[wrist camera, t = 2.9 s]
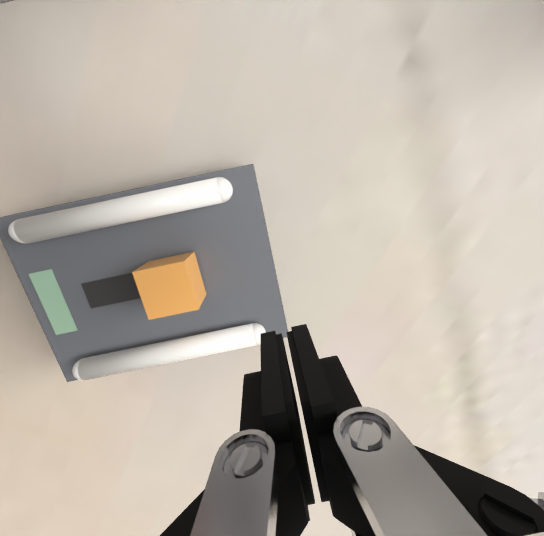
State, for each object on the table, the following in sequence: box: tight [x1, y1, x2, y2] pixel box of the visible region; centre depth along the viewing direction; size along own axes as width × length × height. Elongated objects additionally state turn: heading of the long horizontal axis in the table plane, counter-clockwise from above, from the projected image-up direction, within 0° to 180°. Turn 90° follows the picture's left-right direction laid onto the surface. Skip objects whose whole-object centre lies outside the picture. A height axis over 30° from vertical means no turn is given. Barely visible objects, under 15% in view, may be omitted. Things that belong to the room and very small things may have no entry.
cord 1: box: [8, 177, 233, 244], centre depth 23 cm, size 18×2×2 cm, turn 101°
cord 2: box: [72, 323, 266, 380], centre depth 26 cm, size 18×2×2 cm, turn 101°
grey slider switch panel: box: [0, 164, 288, 382], centre depth 28 cm, size 22×16×6 cm
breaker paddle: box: [132, 252, 206, 320], centre depth 24 cm, size 4×4×4 cm
